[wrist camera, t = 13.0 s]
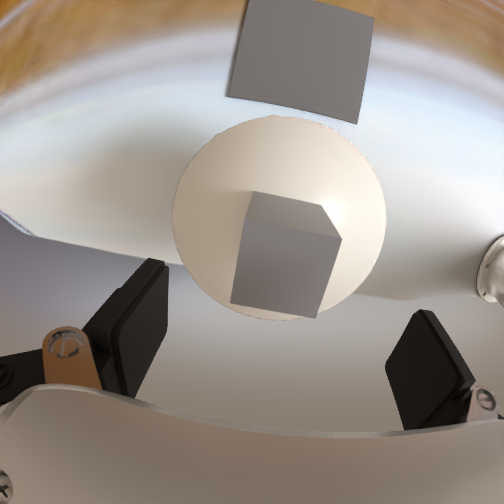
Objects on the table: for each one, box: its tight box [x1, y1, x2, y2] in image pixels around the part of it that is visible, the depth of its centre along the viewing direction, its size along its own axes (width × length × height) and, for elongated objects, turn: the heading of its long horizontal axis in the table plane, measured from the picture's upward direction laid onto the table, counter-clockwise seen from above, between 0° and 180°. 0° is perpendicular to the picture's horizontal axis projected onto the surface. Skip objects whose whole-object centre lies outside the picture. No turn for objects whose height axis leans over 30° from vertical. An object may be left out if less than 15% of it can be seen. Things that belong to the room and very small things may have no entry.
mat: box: [228, 0, 374, 124], centre depth 26 cm, size 15×15×1 cm
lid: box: [172, 115, 386, 320], centre depth 18 cm, size 15×15×10 cm
